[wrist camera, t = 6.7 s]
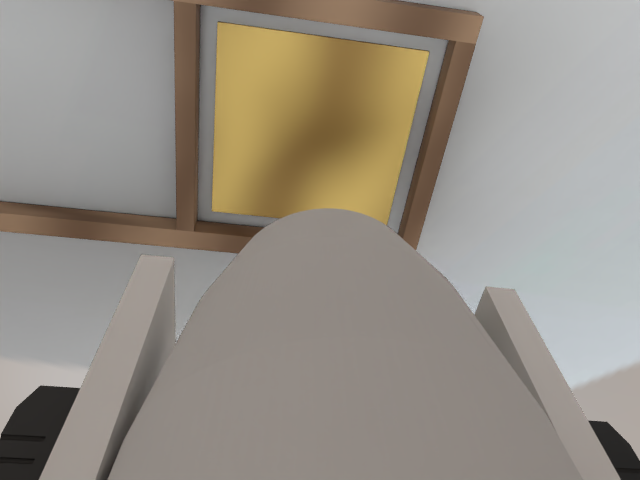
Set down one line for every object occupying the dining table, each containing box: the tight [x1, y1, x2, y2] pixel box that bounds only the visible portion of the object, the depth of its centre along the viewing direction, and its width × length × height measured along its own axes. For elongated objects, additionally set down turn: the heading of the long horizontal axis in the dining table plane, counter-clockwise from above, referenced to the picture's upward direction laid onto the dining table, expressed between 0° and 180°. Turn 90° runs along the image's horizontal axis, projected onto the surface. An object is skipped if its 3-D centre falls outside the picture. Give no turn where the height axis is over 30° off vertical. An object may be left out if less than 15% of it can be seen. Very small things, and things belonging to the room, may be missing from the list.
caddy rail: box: [0, 0, 484, 253], centre depth 21 cm, size 33×12×1 cm, turn 82°
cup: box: [107, 208, 583, 480], centre depth 10 cm, size 8×8×10 cm
